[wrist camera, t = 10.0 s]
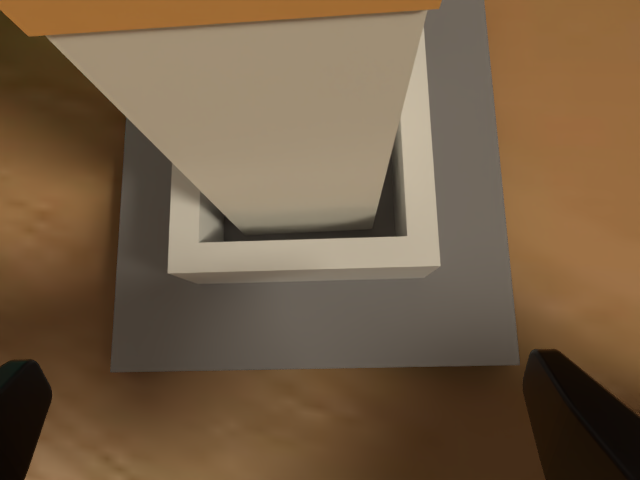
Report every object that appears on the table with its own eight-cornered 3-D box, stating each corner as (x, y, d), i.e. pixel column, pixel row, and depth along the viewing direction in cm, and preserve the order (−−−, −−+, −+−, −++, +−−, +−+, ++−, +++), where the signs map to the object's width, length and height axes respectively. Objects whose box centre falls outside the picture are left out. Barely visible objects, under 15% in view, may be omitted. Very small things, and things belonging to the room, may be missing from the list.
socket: (510, 363, 17) (559, 371, 13) (123, 370, 18) (60, 380, 14) (476, 12, 20) (509, -68, 16) (142, 29, 20) (94, -43, 17)
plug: (375, 231, 17) (459, -62, 4) (242, 238, 17) (-37, -26, 5) (367, 107, 18) (419, -427, 5) (241, 114, 18) (6, -385, 6)
